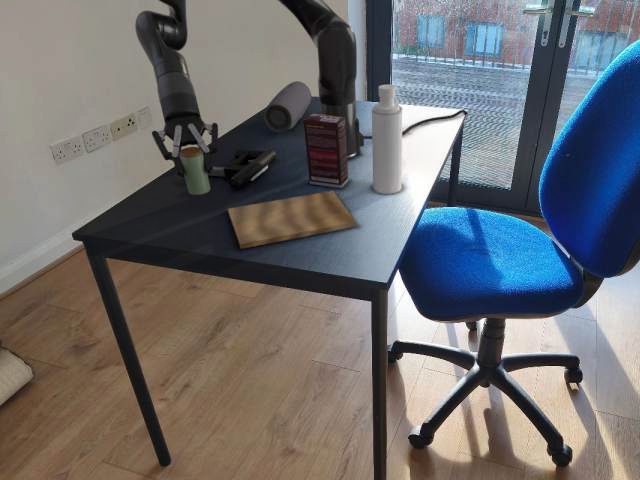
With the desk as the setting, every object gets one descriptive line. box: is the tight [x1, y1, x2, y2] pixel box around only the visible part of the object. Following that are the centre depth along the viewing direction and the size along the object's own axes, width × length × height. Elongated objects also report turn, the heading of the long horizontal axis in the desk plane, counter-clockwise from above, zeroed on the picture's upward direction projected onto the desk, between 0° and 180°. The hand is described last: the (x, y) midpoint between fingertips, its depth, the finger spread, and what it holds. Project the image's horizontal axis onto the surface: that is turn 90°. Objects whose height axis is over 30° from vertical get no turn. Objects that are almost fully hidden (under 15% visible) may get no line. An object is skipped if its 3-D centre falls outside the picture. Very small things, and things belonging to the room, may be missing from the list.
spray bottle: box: [371, 84, 403, 195], centre depth 124 cm, size 7×7×25 cm
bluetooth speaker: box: [263, 80, 312, 134], centre depth 165 cm, size 23×9×10 cm, turn 172°
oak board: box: [227, 190, 357, 250], centre depth 119 cm, size 24×16×1 cm, turn 111°
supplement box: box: [303, 112, 349, 189], centre depth 130 cm, size 9×5×16 cm, turn 71°
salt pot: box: [179, 146, 211, 196], centre depth 119 cm, size 5×5×9 cm
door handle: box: [207, 148, 277, 190], centre depth 139 cm, size 3×20×16 cm
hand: (195, 173), depth 118 cm, fingers closed on salt pot, 5 cm apart
